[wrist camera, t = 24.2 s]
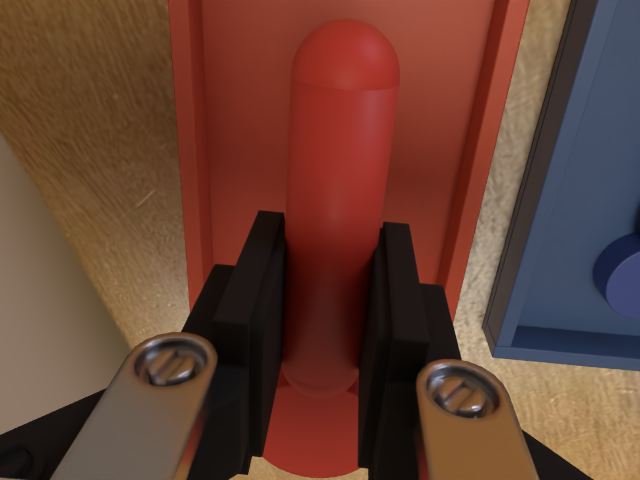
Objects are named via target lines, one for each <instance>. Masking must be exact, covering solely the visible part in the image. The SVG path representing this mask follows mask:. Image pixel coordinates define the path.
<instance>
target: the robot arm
mask: <svg viewBox="0 0 640 480" xmlns="http://www.w3.org/2000/svg"><path fill="white" fill-rule="evenodd" d="M286 245H287V241H286V238H285V214H284V212H274V211H263V210H259V211H258V213H257V215H256V218H255V220H254V223H253V225H252V227H251V230H250V232H249V234H248V237H247V239H246V242H245V244H244V246H243V249H242V251H241V253H240V256H239V258H238V261H237V263H236V265H225V264H215V265H214V266H213V268H212V270H211V272H210V274H209V276H208V278H207V280H206V282H205V284H204V286H203V288H202V290H201V292H200V294H199V296H198V298H197V300H196V302H195V304H194V306H193V308H192V311H191V313H190V315H189V317H188V319H187V321H186V323H185V325H184V327H183V329H182V331H181V332H171V333H165V334H160V335H157V336H154V337H151V338H149V339H146V340H145V341H143V342H142V343H140V344H139V345H137V346H136V347H134V349H133V350H132V351H131V352H130V353H129V354H128V355H127V357H126V358H125V360H124V362H123V363H122V365H121V367H120V368H119V370H118V371H117V373H116V375H115V376H114V378H113V379H112V381H111V382H110V384H109V386H108V387H107V388H106V389H104V390H101V391H99V392H97V393H94V394H92V395H90V396H88V397H85V398H83V399H81V400H79V401H77V402H74V403H72V404H69V405H67V406H65V407H63V408H60V409H58V410H56V411H54V412H52V413H49V414H47V415H45V416H42V417H40V418H38V419H35V420H33V421H31V422H29V423H26V424H24V425H22V426H19V427H17V428H15V429H13V430H11V431H8V432H6V433H4V434H1V435H0V480H229V479H230V478H232V477H234V476H235V475H237V474H244V475H248V472H249V468H250V463H251V459H252V456H255V457H262V456H263V452H264V448H265V443H266V438H267V433H268V428H269V423H270V418H271V413H272V408H273V403H274V398H275V393H276V388H277V383H278V378H279V374H280V369H281V364H282V347H283V322H284V296H285V270H286ZM358 468H368V480H593V479H592V478H590V477H589V476H587V475H586V474H584V473H583V472H582V471H580V470H579V469H577V468H576V467H575V466H573V465H572V464H570V463H569V462H567V461H566V460H565V459H563V458H562V457H560V456H559V455H558V454H556V453H555V452H553V451H552V450H550V449H549V448H548V447H546V446H545V445H543V444H542V443H540V442H539V441H538V440H536V439H535V438H533V437H532V436H531V435H529V434H528V433H526V432H525V431H523V430H522V429H521V427H520V424H519V421H518V418H517V416H516V413H515V410H514V407H513V404H512V402H511V399H510V396H509V394H508V392H507V390H506V388H505V387H504V385H503V383H502V382H501V381H500V380H499V379H498V378H497V377H496V376H495V375H494V374H492V373H490V372H489V371H487V370H486V369H484V368H483V367H481V366H478V365H476V364H473V363H471V362H468V361H462V359H461V355H460V351H459V347H458V343H457V339H456V335H455V331H454V327H453V323H452V319H451V315H450V311H449V307H448V303H447V298H446V294H445V290H444V288H443V286H442V285H436V284H426V283H420V282H419V276H418V271H417V265H416V259H415V254H414V248H413V242H412V237H411V231H410V225H409V224H407V223H396V222H385V221H384V222H383V226H382V228H380V232H379V239H378V245H377V247H376V248H375V251H374V258H373V266H372V273H371V281H370V288H369V296H368V303H367V311H366V318H365V326H364V333H363V341H362V348H361V356H360V363H359V386H358Z"/></svg>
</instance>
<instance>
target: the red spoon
mask: <svg viewBox="0 0 640 480" xmlns="http://www.w3.org/2000/svg"><path fill="white" fill-rule="evenodd" d="M399 86H400V67H399V60H398V57H397V55H396V52H395V49H394V48H393V46H392V45H391V43H390V41H389V40H388V39H387V38H386V37H385V36H384V34H383V33H382V32H381V31H379V30H378V29H377V28H375V27H374V26H372V25H370V24H368V23H365V22H363V21H360V20H354V19H338V20H334V21H329V22H327V23H325V24H323V25H321V26H319V27H317V28H316V29H315V30H313V31H312V32H311V33H309V34H308V36H307V37H306V38H305V39H304V40H303V41H302V43H301V44H300V46H299V48H298V50H297V51H296V54H295V57H294V60H293V64H292V71H291V83H290V110H289V137H288V164H287V190H286V217H285V238H286V241H287V245H286V270H285V296H284V322H283V347H282V364H281V369H280V374H279V378H278V383H277V388H276V393H275V398H274V403H273V408H272V413H271V418H270V423H269V428H268V433H267V438H266V443H265V448H264V452H263V456H262V457H263V458H264V459H266V460H267V461H268V462H270V463H271V464H272V465H274V466H276V467H278V468H279V469H282V470H284V471H286V472H289V473H292V474H295V475H299V476H304V477H311V478H330V477H337V476H342V475H345V474H349V473H351V472H354V471H356V470H358V469H360V468H358V386H359V363H360V356H361V348H362V341H363V333H364V326H365V318H366V311H367V303H368V296H369V288H370V281H371V273H372V266H373V258H374V251H375V248H376V247H377V245H378V239H379V232H380V225H381V217H382V210H383V203H384V196H385V188H386V181H387V174H388V166H389V159H390V152H391V144H392V137H393V130H394V122H395V115H396V108H397V100H398V93H399Z"/></svg>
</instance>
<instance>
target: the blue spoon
mask: <svg viewBox="0 0 640 480" xmlns="http://www.w3.org/2000/svg"><path fill="white" fill-rule="evenodd" d="M593 279H594V283H595V286H596V288H597V289H598V291H599V292H600V294H601V295H602V296H603V298H604V299H605V300H606V302H607V303H608V305H609V306H610V307H611V308H612V309H613V310H614V311H615V312H616V313H618V314H619V315H621V316H623V317H626V318H629V319H635V320H640V232H636V233H632V234H629V235H626V236H624V237H622V238H620V239H618V240H616V241H615V242H613V243H612V244H611V245H609V246H608V247H607V248H606V249H605V250H604V251H603V252H602V254H601V255H600V256H599V258H598V259H597V262H596V264H595V267H594V272H593Z"/></svg>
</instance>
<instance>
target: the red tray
mask: <svg viewBox="0 0 640 480" xmlns="http://www.w3.org/2000/svg"><path fill="white" fill-rule="evenodd" d="M529 2H530V0H168V8H169V22H170V36H171V50H172V64H173V78H174V92H175V106H176V121H177V135H178V149H179V163H180V177H181V191H182V205H183V219H184V233H185V247H186V261H187V275H188V289H189V304H190V313H191V311H192V308H193V306H194V304H195V302H196V300H197V298H198V296H199V294H200V292H201V290H202V288H203V286H204V284H205V282H206V280H207V278H208V276H209V274H210V272H211V270H212V268H213V266H214V265H215V264H225V265H236V263H237V261H238V258H239V256H240V253H241V251H242V249H243V246H244V244H245V242H246V239H247V237H248V234H249V232H250V230H251V227H252V225H253V223H254V220H255V218H256V215H257V213H258V211H259V210H263V211H274V212H284V214H285V217H286V190H287V164H288V137H289V110H290V83H291V71H292V64H293V60H294V57H295V54H296V51H297V50H298V48H299V46H300V44H301V43H302V41H303V40H304V39H305V38H306V37H307V36H308V34H309V33H311V32H312V31H313V30H315V29H316V28H317V27H319V26H321V25H323V24H325V23H327V22H329V21H334V20H338V19H354V20H360V21H363V22H365V23H368V24H370V25H372V26H374V27H375V28H377V29H378V30H379V31H381V32H382V33H383V34H384V36H385V37H386V38H387V39H388V40H389V41H390V43H391V45H392V46H393V48H394V49H395V52H396V55H397V57H398V60H399V67H400V86H399V93H398V100H397V108H396V115H395V122H394V130H393V137H392V144H391V152H390V159H389V166H388V174H387V181H386V188H385V196H384V203H383V210H382V217H381V225H380V228H382V226H383V222H384V221H385V222H396V223H407V224H409V225H410V231H411V237H412V242H413V248H414V254H415V259H416V265H417V271H418V276H419V282H420V283H426V284H436V285H442V286H443V288H444V290H445V294H446V298H447V303H448V307H449V311H450V315H451V319H452V323H453V321H454V317H455V313H456V309H457V305H458V300H459V296H460V292H461V288H462V283H463V279H464V275H465V271H466V267H467V262H468V258H469V254H470V250H471V246H472V241H473V237H474V233H475V229H476V225H477V220H478V216H479V212H480V208H481V204H482V199H483V195H484V191H485V187H486V183H487V178H488V174H489V170H490V166H491V162H492V157H493V153H494V149H495V145H496V141H497V136H498V132H499V128H500V124H501V120H502V115H503V111H504V107H505V103H506V99H507V94H508V90H509V86H510V82H511V78H512V73H513V69H514V65H515V61H516V57H517V52H518V48H519V44H520V40H521V36H522V31H523V27H524V23H525V19H526V15H527V10H528V6H529Z"/></svg>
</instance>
